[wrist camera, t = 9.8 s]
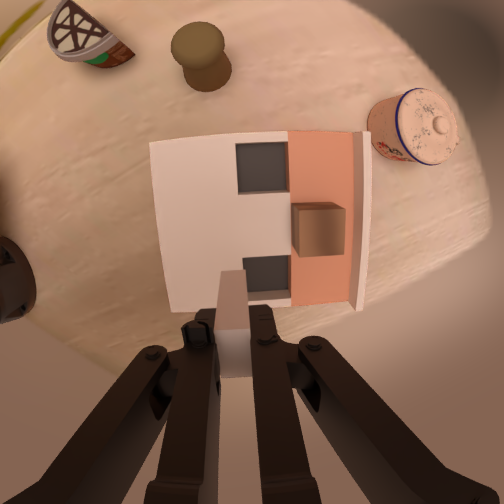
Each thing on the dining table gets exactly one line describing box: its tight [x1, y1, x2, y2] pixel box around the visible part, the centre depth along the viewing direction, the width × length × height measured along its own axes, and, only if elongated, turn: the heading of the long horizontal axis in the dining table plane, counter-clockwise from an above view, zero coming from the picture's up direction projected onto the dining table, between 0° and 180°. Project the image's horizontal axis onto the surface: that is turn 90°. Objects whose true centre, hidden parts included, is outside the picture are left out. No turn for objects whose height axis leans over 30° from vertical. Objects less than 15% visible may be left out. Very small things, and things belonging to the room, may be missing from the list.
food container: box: [47, 0, 135, 68], centre depth 24 cm, size 12×6×10 cm, turn 42°
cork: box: [171, 22, 232, 92], centre depth 26 cm, size 6×6×11 cm
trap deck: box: [149, 131, 372, 313], centre depth 34 cm, size 25×22×6 cm
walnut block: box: [291, 202, 346, 258], centre depth 32 cm, size 5×5×5 cm
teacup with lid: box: [368, 88, 459, 165], centre depth 28 cm, size 12×9×12 cm
